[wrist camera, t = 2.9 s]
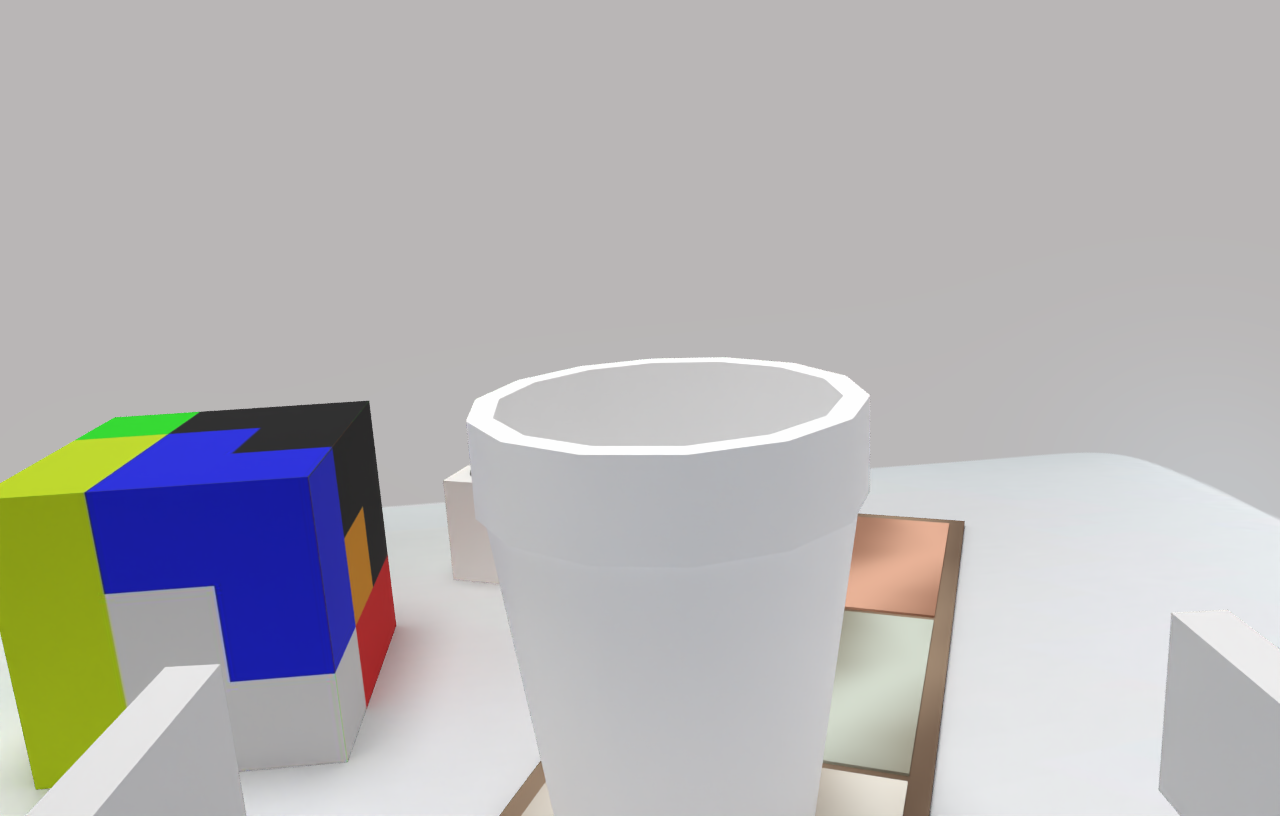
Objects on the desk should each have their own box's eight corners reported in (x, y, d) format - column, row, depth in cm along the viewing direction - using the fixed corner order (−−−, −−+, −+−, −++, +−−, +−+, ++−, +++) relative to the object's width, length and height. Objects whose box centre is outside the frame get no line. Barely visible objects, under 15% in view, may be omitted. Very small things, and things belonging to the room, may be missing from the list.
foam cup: (548, 1056, 21) (496, 480, 18) (488, 801, 30) (445, 380, 27) (937, 943, 24) (951, 419, 21) (778, 737, 33) (771, 345, 29)
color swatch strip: (371, 994, 24) (369, 984, 24) (733, 508, 55) (733, 503, 54) (890, 1138, 20) (890, 1126, 20) (964, 525, 50) (964, 519, 50)
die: (453, 581, 47) (441, 469, 46) (502, 541, 52) (492, 439, 50) (550, 591, 46) (540, 475, 44) (591, 549, 50) (584, 443, 49)
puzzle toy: (347, 763, 33) (308, 476, 31) (35, 791, 32) (-30, 500, 30) (396, 627, 43) (369, 400, 40) (156, 646, 42) (114, 417, 40)
